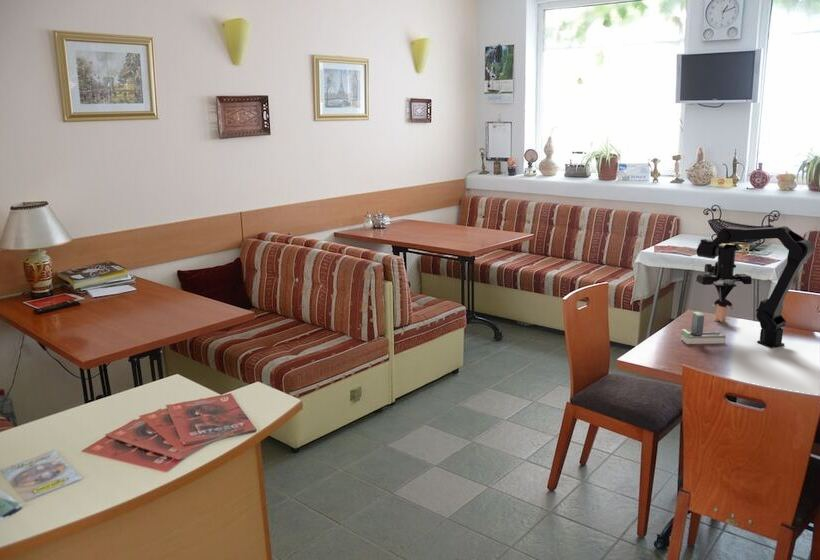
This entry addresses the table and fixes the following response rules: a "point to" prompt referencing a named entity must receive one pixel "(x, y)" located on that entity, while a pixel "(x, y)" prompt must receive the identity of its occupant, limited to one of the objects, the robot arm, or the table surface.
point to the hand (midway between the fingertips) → (721, 301)
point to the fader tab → (697, 324)
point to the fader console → (702, 338)
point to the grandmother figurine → (722, 309)
